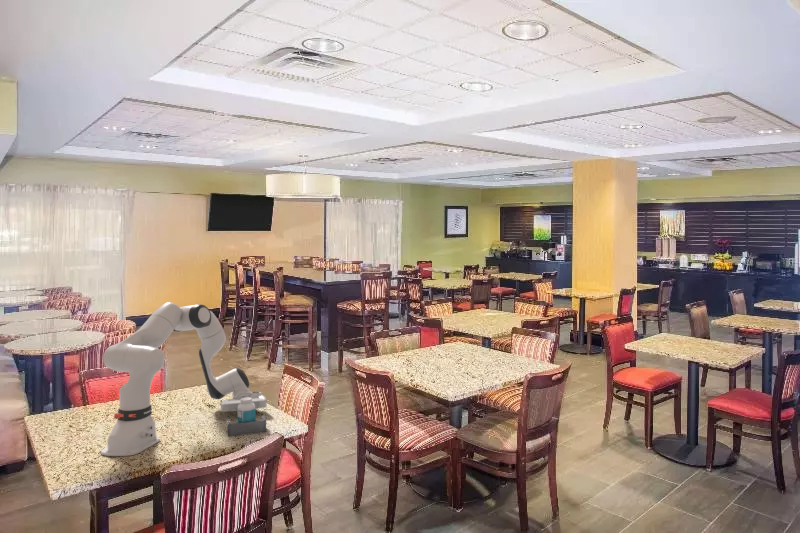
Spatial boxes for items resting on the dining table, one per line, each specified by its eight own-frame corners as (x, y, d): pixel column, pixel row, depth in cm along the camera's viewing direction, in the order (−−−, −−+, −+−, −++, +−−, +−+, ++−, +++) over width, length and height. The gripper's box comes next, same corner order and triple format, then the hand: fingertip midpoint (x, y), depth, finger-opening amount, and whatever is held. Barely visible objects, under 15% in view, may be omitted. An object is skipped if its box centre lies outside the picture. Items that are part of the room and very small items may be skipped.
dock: (266, 431, 235) (266, 420, 235) (227, 436, 230) (227, 424, 230) (264, 426, 241) (264, 415, 241) (227, 430, 236) (227, 419, 236)
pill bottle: (258, 427, 241) (258, 396, 240) (251, 433, 233) (251, 401, 233) (241, 426, 241) (241, 395, 241) (234, 432, 234) (234, 400, 233)
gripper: (219, 395, 258) (220, 404, 245) (264, 391, 265) (267, 399, 252) (219, 409, 259) (220, 418, 246) (264, 404, 265) (268, 413, 252)
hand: (244, 409), depth 249 cm, fingers closed
